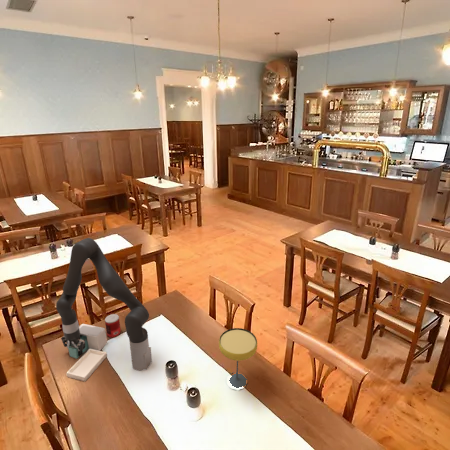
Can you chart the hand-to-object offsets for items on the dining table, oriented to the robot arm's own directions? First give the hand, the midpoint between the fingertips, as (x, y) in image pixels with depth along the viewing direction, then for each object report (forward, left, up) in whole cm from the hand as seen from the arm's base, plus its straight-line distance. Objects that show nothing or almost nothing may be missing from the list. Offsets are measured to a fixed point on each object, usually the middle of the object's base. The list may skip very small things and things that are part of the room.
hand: (76, 353), depth 169 cm
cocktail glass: (-88, -7, -1) cm, 89 cm away
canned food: (-9, -21, -1) cm, 23 cm away
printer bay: (-3, -9, -1) cm, 10 cm away
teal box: (0, -4, -1) cm, 5 cm away
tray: (-11, +5, -1) cm, 12 cm away
